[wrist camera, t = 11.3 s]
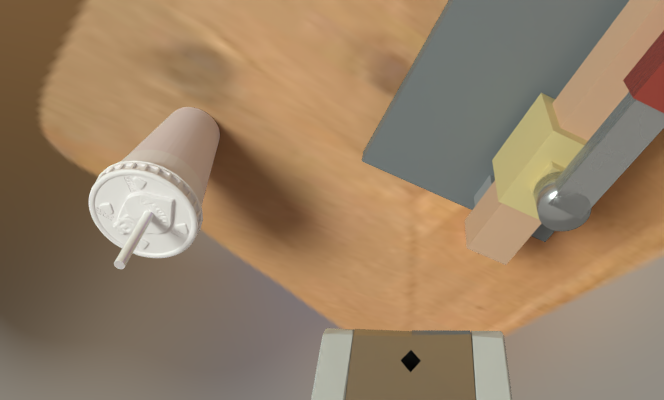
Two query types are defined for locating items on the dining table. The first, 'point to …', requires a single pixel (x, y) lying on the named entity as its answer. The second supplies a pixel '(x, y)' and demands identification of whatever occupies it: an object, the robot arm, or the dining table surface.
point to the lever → (607, 147)
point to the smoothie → (158, 188)
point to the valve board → (509, 104)
